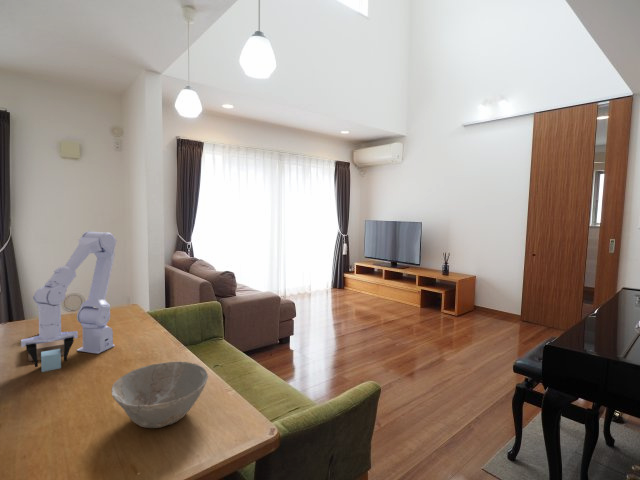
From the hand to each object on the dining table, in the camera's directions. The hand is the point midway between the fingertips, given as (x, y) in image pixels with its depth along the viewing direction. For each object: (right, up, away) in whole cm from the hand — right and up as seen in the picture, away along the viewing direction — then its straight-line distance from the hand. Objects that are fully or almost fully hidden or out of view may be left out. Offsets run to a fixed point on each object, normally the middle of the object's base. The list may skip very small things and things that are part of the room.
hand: (51, 362), depth 113 cm
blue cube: (0, -2, 0) cm, 2 cm away
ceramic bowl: (+48, -5, -25) cm, 54 cm away
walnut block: (-11, 0, +12) cm, 16 cm away
